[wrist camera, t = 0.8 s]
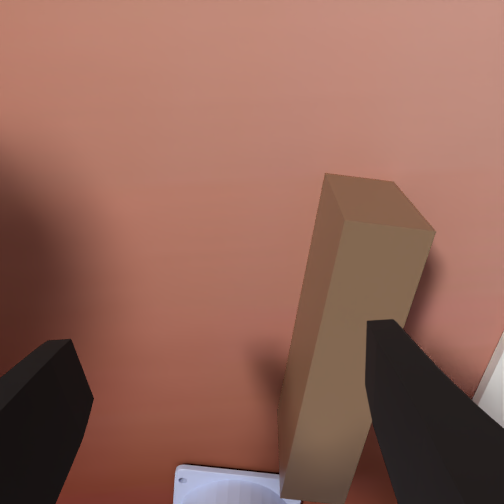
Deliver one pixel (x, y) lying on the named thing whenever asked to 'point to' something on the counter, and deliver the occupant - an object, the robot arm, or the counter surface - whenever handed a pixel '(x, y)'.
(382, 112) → the counter surface
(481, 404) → the display stand
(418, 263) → the frame bar
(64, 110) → the counter surface
